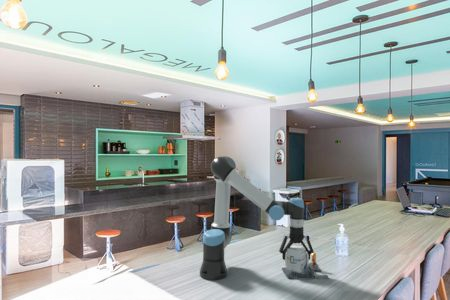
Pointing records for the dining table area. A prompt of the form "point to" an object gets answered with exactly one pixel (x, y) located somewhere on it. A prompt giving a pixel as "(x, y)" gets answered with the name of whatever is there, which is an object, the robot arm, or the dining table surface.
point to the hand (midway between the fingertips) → (296, 265)
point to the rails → (321, 275)
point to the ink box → (296, 258)
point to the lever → (314, 262)
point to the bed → (305, 274)
